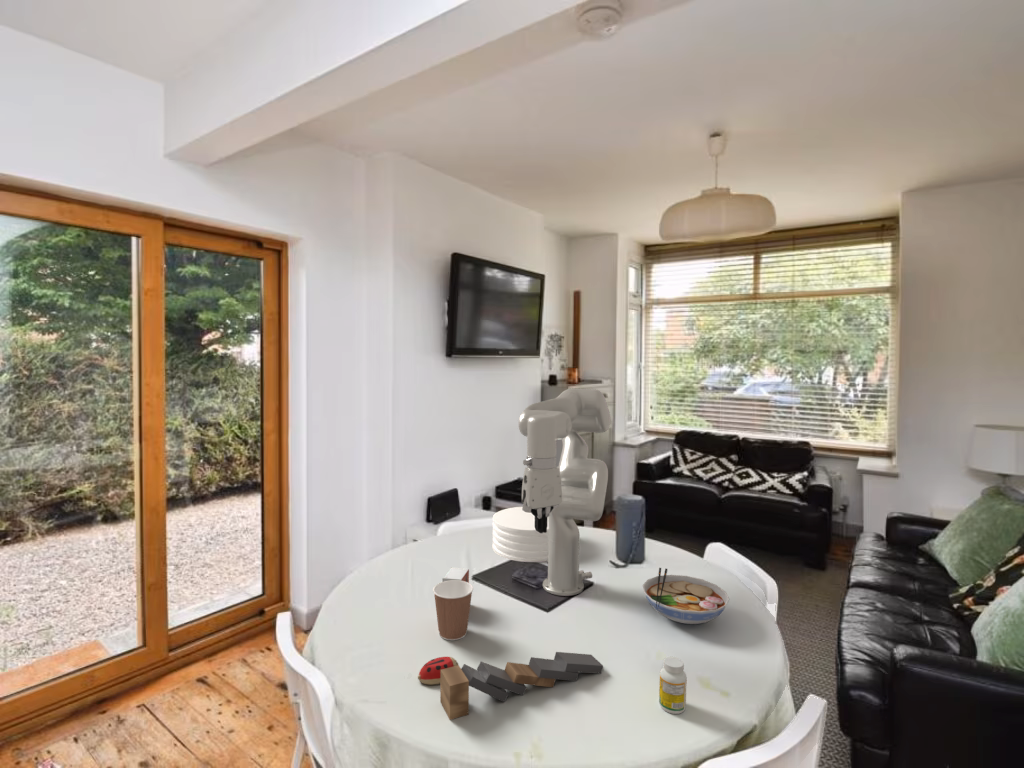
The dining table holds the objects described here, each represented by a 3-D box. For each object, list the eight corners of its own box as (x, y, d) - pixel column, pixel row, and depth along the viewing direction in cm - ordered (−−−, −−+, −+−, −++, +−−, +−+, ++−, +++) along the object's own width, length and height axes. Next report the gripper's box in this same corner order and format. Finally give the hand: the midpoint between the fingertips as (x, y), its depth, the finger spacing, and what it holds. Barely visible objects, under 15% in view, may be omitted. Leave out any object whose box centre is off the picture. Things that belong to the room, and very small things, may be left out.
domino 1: (499, 680, 119) (464, 663, 115) (508, 694, 115) (472, 676, 111) (494, 688, 119) (459, 671, 115) (504, 702, 114) (467, 685, 110)
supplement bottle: (679, 718, 110) (680, 672, 109) (654, 707, 113) (655, 662, 113) (689, 705, 114) (691, 661, 113) (665, 694, 117) (666, 651, 117)
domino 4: (567, 661, 126) (530, 657, 122) (578, 673, 122) (541, 669, 118) (564, 669, 126) (528, 665, 122) (576, 681, 122) (538, 677, 118)
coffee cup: (479, 627, 145) (479, 583, 144) (463, 647, 135) (463, 600, 134) (443, 620, 148) (443, 577, 147) (425, 639, 138) (425, 593, 137)
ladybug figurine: (465, 677, 123) (465, 661, 123) (425, 692, 118) (425, 676, 117) (451, 662, 129) (451, 648, 128) (412, 676, 123) (412, 661, 123)
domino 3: (544, 667, 124) (507, 662, 120) (555, 679, 119) (516, 674, 115) (542, 674, 124) (504, 670, 120) (553, 687, 119) (513, 682, 115)
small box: (461, 617, 150) (461, 579, 149) (441, 615, 151) (441, 578, 150) (469, 604, 158) (469, 568, 157) (450, 602, 159) (450, 566, 158)
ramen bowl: (729, 649, 135) (731, 617, 135) (636, 631, 143) (636, 601, 143) (727, 605, 159) (728, 577, 158) (646, 592, 167) (647, 565, 166)
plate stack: (490, 535, 215) (490, 507, 215) (560, 534, 218) (560, 505, 218) (495, 563, 188) (495, 531, 187) (575, 561, 191) (576, 529, 190)
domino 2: (516, 674, 121) (480, 661, 117) (526, 687, 117) (489, 673, 113) (512, 682, 121) (476, 669, 117) (522, 695, 117) (485, 682, 113)
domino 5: (591, 654, 129) (556, 651, 125) (603, 665, 125) (567, 663, 121) (589, 662, 129) (553, 659, 125) (601, 673, 125) (565, 671, 120)
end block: (458, 697, 116) (458, 665, 115) (468, 714, 110) (468, 681, 110) (440, 702, 114) (440, 669, 114) (449, 719, 109) (449, 686, 108)
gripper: (523, 468, 135) (523, 540, 137) (573, 462, 142) (572, 531, 144) (509, 462, 142) (509, 531, 143) (557, 456, 149) (557, 522, 150)
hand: (540, 531), depth 143 cm, fingers closed
